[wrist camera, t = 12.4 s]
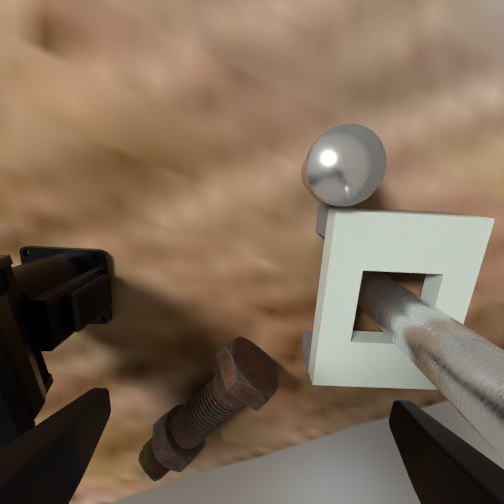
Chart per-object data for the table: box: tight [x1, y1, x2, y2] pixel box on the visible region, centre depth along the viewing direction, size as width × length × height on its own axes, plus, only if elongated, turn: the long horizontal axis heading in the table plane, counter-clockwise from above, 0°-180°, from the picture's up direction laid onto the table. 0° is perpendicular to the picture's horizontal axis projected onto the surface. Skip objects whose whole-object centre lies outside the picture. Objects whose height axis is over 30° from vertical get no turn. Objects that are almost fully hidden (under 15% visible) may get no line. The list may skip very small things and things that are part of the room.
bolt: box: [138, 337, 278, 481], centre depth 21 cm, size 6×5×15 cm
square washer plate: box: [302, 206, 495, 390], centre depth 19 cm, size 10×13×4 cm
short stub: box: [301, 124, 386, 207], centre depth 16 cm, size 4×4×5 cm
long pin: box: [357, 271, 504, 460], centre depth 13 cm, size 4×4×16 cm
